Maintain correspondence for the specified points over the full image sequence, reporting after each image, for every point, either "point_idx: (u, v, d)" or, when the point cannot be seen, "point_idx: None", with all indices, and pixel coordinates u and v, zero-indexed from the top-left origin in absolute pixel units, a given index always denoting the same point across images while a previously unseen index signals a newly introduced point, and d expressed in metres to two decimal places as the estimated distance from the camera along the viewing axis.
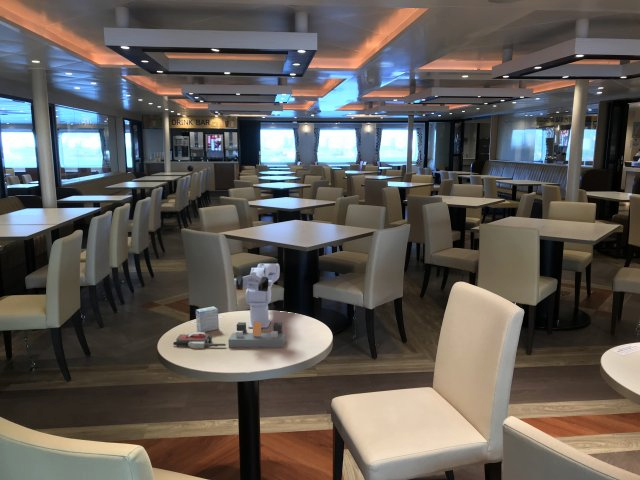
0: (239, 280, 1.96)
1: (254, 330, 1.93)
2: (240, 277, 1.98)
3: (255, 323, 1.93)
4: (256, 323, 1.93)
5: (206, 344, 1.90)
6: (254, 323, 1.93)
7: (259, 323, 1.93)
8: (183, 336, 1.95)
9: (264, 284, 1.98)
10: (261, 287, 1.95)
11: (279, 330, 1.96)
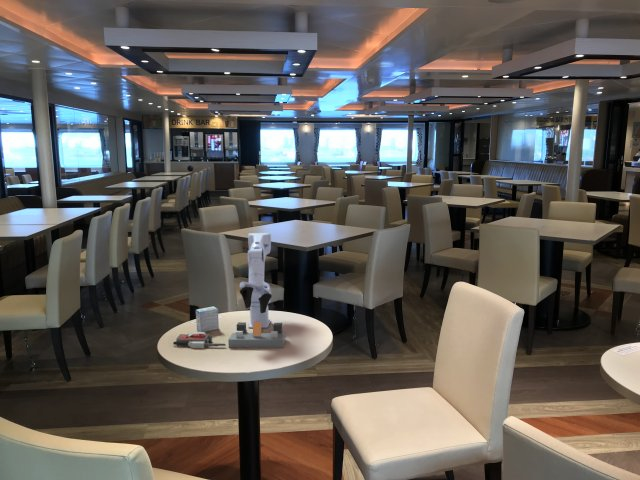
0: (250, 297, 1.92)
1: (254, 330, 1.93)
2: (251, 290, 1.93)
3: (255, 323, 1.93)
4: (256, 323, 1.93)
5: (206, 344, 1.90)
6: (254, 323, 1.93)
7: (259, 323, 1.93)
8: (183, 336, 1.95)
9: None
10: None
11: (279, 330, 1.96)
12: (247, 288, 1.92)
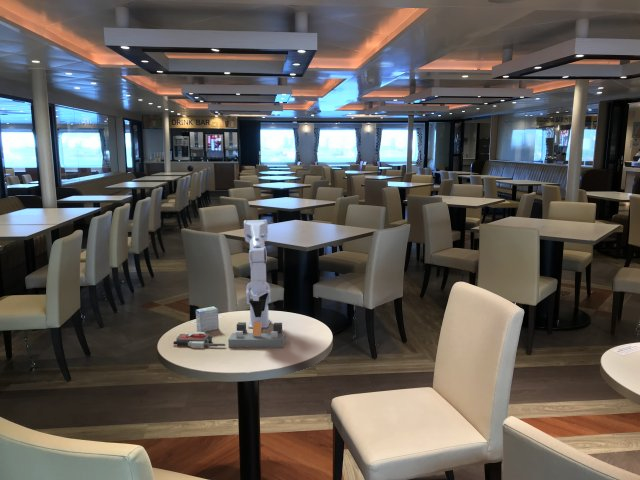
0: (262, 308, 1.94)
1: (254, 330, 1.93)
2: (263, 302, 1.94)
3: (255, 323, 1.93)
4: (256, 323, 1.93)
5: (206, 344, 1.91)
6: (254, 323, 1.93)
7: (259, 323, 1.93)
8: (183, 336, 1.95)
9: None
10: None
11: (279, 330, 1.96)
12: (261, 302, 1.92)
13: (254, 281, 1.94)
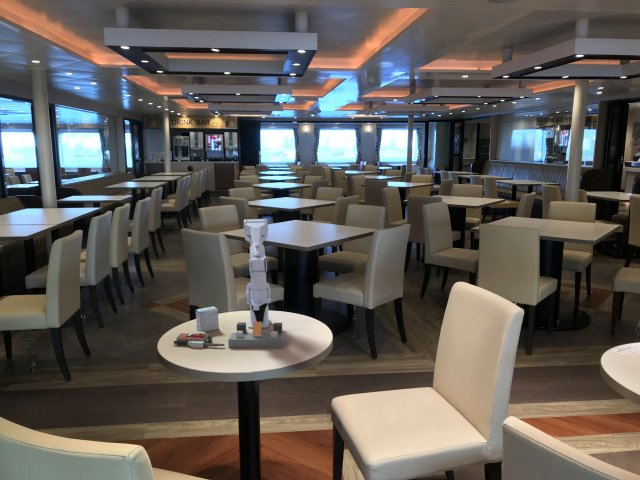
0: (263, 314, 1.98)
1: (254, 330, 1.93)
2: (265, 309, 1.97)
3: (255, 323, 1.93)
4: (256, 323, 1.93)
5: (205, 344, 1.91)
6: (254, 323, 1.93)
7: (259, 323, 1.93)
8: (183, 335, 1.96)
9: None
10: None
11: (279, 330, 1.96)
12: (263, 308, 1.96)
13: (254, 290, 1.94)
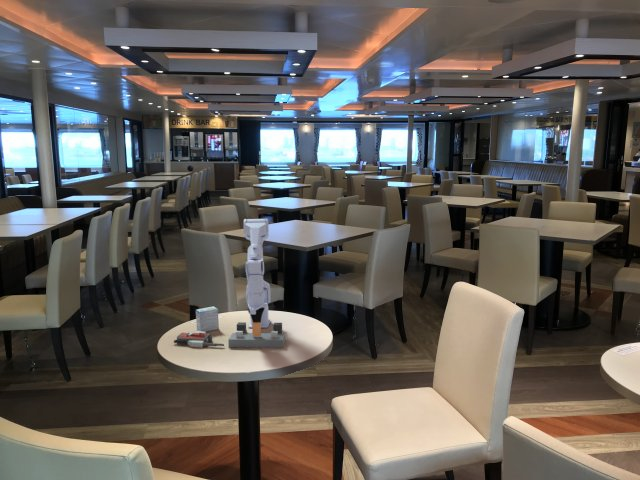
0: (261, 318, 1.92)
1: (254, 331, 1.92)
2: (262, 312, 1.92)
3: (254, 324, 1.91)
4: (255, 324, 1.91)
5: (205, 343, 1.91)
6: (253, 324, 1.91)
7: (258, 324, 1.91)
8: (184, 334, 1.96)
9: None
10: None
11: (279, 330, 1.96)
12: (260, 312, 1.90)
13: (251, 294, 1.88)
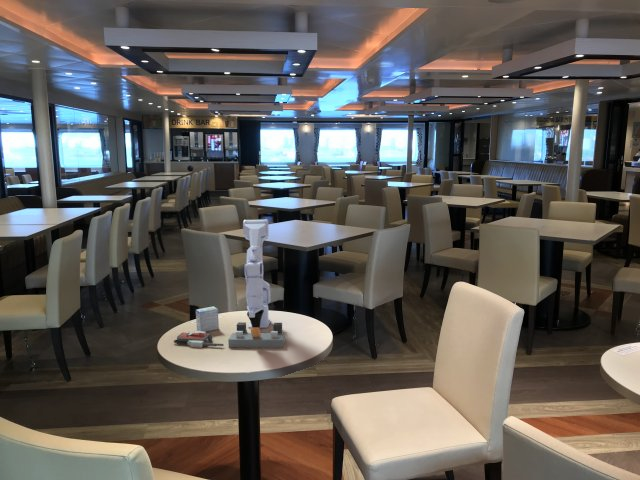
0: (260, 321, 1.90)
1: (253, 335, 1.91)
2: (261, 316, 1.89)
3: (253, 331, 1.89)
4: (254, 331, 1.89)
5: (204, 343, 1.91)
6: (252, 331, 1.89)
7: (257, 331, 1.89)
8: (184, 334, 1.97)
9: None
10: None
11: (279, 330, 1.96)
12: (259, 315, 1.88)
13: (250, 296, 1.86)
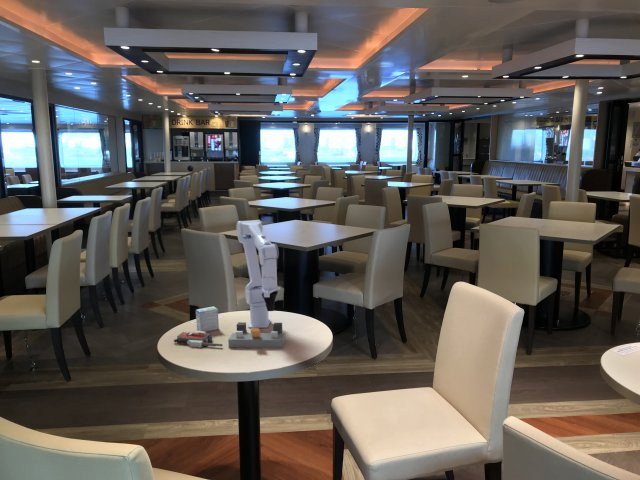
0: (274, 302, 1.98)
1: (253, 335, 1.90)
2: (275, 296, 1.98)
3: (253, 331, 1.88)
4: (254, 331, 1.88)
5: (204, 343, 1.91)
6: (252, 331, 1.88)
7: (257, 331, 1.88)
8: (184, 334, 1.97)
9: None
10: None
11: (279, 330, 1.96)
12: (273, 296, 1.96)
13: (265, 278, 1.95)
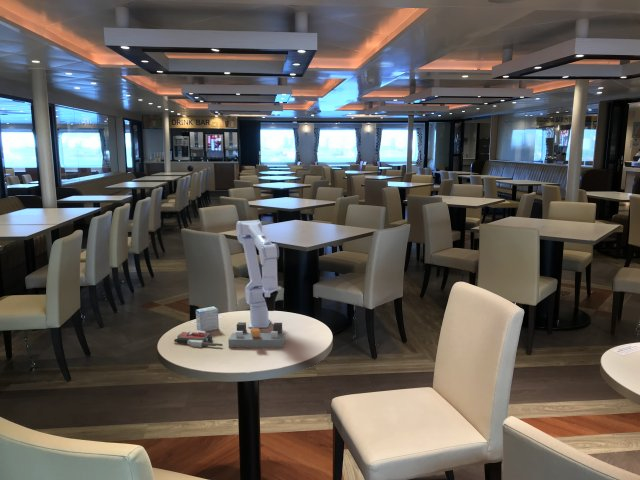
0: (274, 302, 1.98)
1: (253, 335, 1.90)
2: (276, 296, 1.98)
3: (253, 331, 1.88)
4: (254, 331, 1.88)
5: (204, 343, 1.91)
6: (252, 331, 1.88)
7: (257, 331, 1.88)
8: (184, 334, 1.98)
9: None
10: None
11: (279, 330, 1.96)
12: (274, 296, 1.96)
13: (265, 277, 1.95)
